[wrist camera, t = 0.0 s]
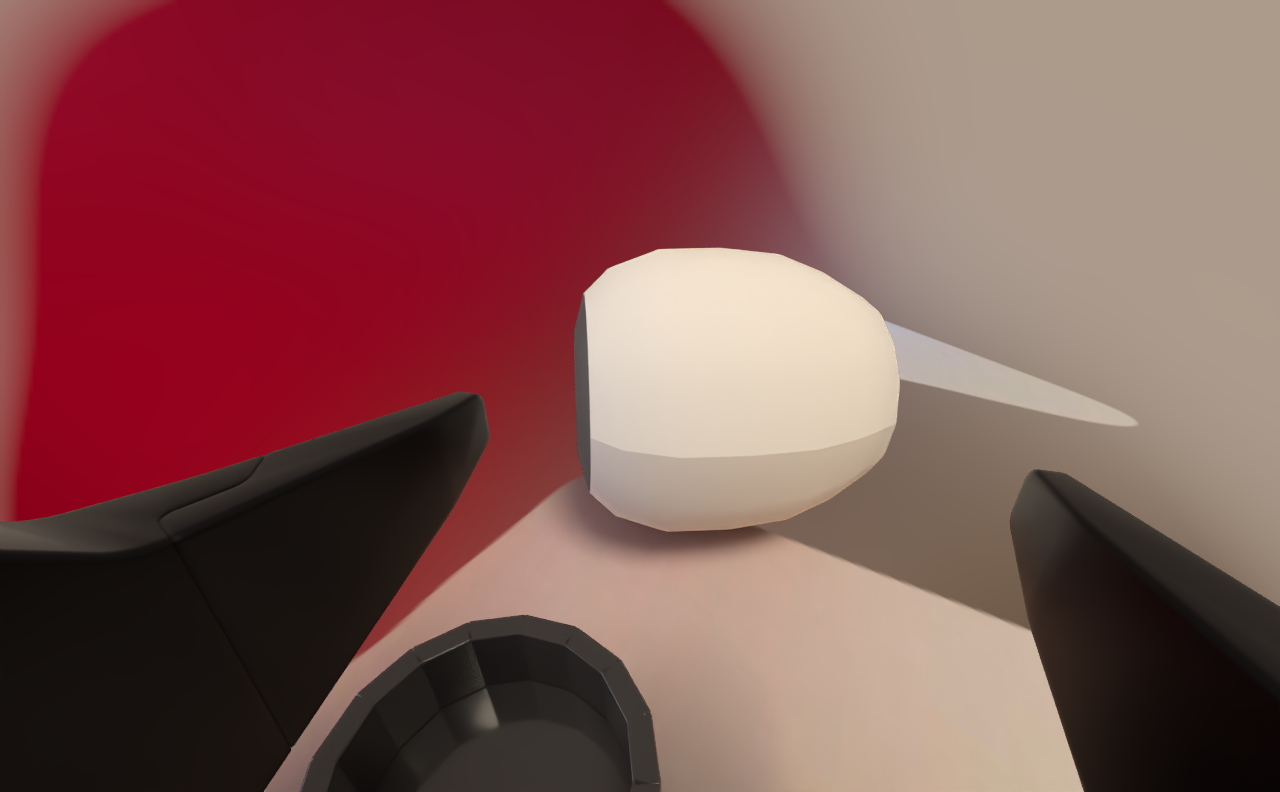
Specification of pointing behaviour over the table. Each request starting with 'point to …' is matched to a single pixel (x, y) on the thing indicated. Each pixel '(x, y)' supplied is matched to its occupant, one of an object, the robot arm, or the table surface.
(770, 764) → the table surface
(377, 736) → the holder
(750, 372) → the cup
